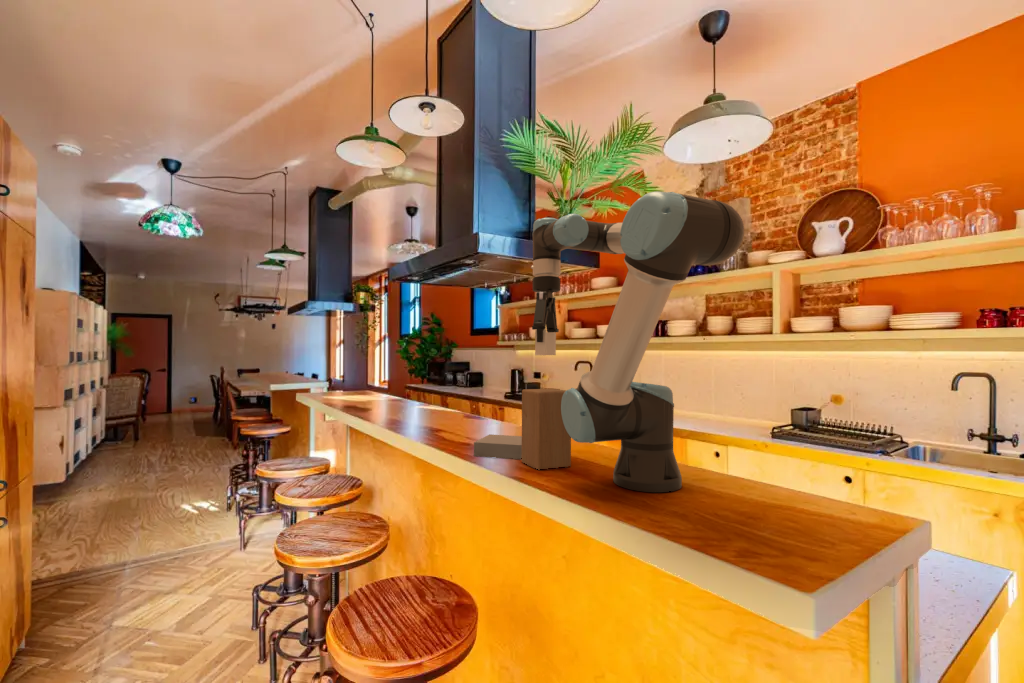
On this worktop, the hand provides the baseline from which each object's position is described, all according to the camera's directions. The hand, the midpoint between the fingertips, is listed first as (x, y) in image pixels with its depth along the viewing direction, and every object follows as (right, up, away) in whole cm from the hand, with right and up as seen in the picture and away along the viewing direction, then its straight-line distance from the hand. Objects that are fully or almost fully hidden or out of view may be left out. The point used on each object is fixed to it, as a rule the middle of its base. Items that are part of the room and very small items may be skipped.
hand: (545, 355), depth 126 cm
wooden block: (0, -30, -1) cm, 30 cm away
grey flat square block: (-12, -30, +14) cm, 35 cm away
